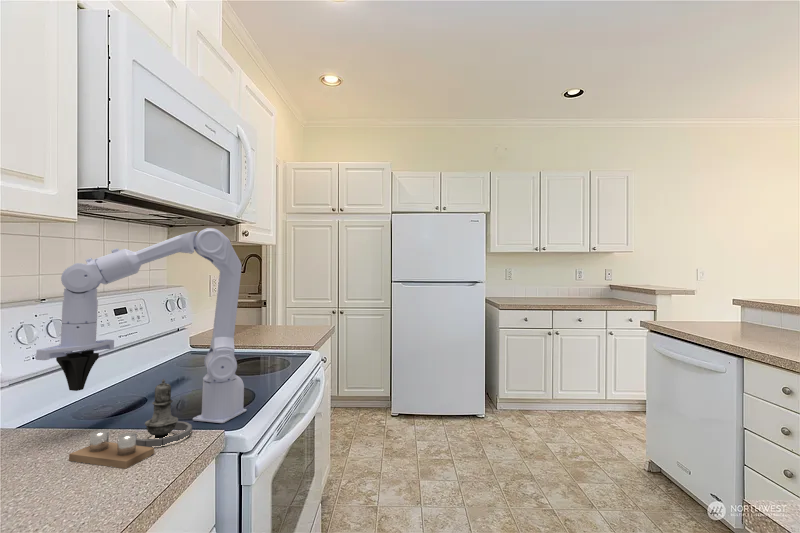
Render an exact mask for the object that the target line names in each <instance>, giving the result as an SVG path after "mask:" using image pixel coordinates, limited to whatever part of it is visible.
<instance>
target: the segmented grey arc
mask: <svg viewBox="0 0 800 533" xmlns="http://www.w3.org/2000/svg"><path fill="white" fill-rule="evenodd" d="M174 430H179V431H181V432H179V433H177V434H175V435H173V436H169V437H165V438H159V439H147V438H139V437H138V438H137V439H136V446H145V447H152V446H161V445H165V444H167V443H170V442H173V441H178V440H180V439H183V438H184V437H186V436H188V435H190V432H191V431H192V432H193V425H192V424H191V423H189V422H187V421H182V420H181V421H179V420H178V421H177V422H176V426H175V428H174ZM184 430H185V431H184ZM190 436H191V435H190Z"/></svg>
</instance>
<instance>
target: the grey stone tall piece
mask: <svg viewBox="0 0 800 533" xmlns="http://www.w3.org/2000/svg"><path fill="white" fill-rule="evenodd" d="M171 398H172V385H171V384H169V383H166V380H165V378H163V379H162V380H161V383H159V384H157V385H156V386H155V389H154V401H153V402H152V405H153V413H152V417H151V418H150V419H148V420H146V421H145V422H144V426H146V431H147V433H148V434H150V436H152V435H155V438H163V437H165V436H167V435H168V433H173V431H174V430H175V429H174V428H175V426H176V422H177V421H179V418H178V416H174V415H172V411H171V409H172V408H171V407H172V403H173V402H174V400H173V399H171Z"/></svg>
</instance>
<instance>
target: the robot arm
mask: <svg viewBox="0 0 800 533" xmlns="http://www.w3.org/2000/svg"><path fill="white" fill-rule="evenodd" d="M194 252H195V253H196V254H197V255H198V256H200V257H201V258H204V259H205V260H207V261H209V262H210V263H211V264H212V265H213V266H214V267H215V268H216V269H217V271H219V277H218V284H217V286H218V287H217V293H216V295H217V296H216V302H215V310H214V312H215V313H214V320H213V331H212V337H211V340H210V344H209V350H208V351H207V354H206V355H205V357H204V360H203V362H204V363H203V364H204V367H205V369H206V371H207V373H206V374H205V375H204V376H203V377H202V393H201V394H202V395H201V396H202V397H201V399H202V400H201V414H198V415H196V416H194V417H193V418H192V421H196V422H197V421H198V422H205V423H206V422H207V423H216V424H224V423H226V422H229V421H230V420H232V419H234V418H236V417H239V416H240V415H241V414H244V413H245V412H247V408H244V403H245V401H244V396H245V393H244V392H245V384H244V382H243V379H242V378H241V377H240V376H238V375H237V374H236V372H237V368H238V362H237V358H236V357H235V349H236V348H235V330H236V322H237V314H238V313H237V312H238V305H239V304H238V302H239V294H240V285H241V277H242V269H243V268H242V267H243V266H242V262H241V260H240V258H239V257H238V254H237V253H236V251H235V249H234V247H233V245H232V243H231V241H230V238H228V237H227V235H225V234H224V233H223V232H222V231H221V230H219V229H217V228H213V227H206V228H204V229H202V230H200V231H199V232H198V231H197V230H196V231H195V230H194V231H191V232H190V231H189V232H186V233H183V234H180V235H176V236H174V237H170V238H168V239H166V240H163V241H160V242H158V243H154V244H152V245H150V246H147V247H145V248H142V249H139V250H137V251H133V250H130V249H128V248H122V249H120V248H114V249H111V253H108V254H106V255H102V256H99V257H95V258H92V257H90V258H86V259H85V262H86V263H82V262H75V263H73V264H72V265H70V266H68V267H67V268H65V269H64V271H63V272H62V274H61V277H60V279H61V283H62V285H63V287H64V288H63V290H64V291H63V300H62V309H61V328H60V330H61V332H60V343H59V344H58V345H54V346H53V345H52V346H50V347H45V348H38V349H36V353H35V354H36V357H35V359H36V361H48V360H50V359H51V360H52V359H55V360H56V362H57V363H58V365H59V366H60V368H61V369H62V371H63V374H64V376H65V379H66V382H67V386H68V389H69V391H72V392H77V391H82V390H84V388H85V387H86V386H85V384H86V383H87V381H88V380H87V379H88V378H89V374H90V372H91V370H92V368H93V366H94V365H95V363H96V362H97V361H98V360H99V358H100V356H99V354H100V352H97V351H103V350H112V349H113V350H114V349H115V339H100V340H97V331H98V330H97V329H98V328H97V327H98V305H99V301H98V288H99V286H100V285H101V284H102V285H105V286H106V285H109V284H110V283H111V284H112V283H114V282H116V281H119V280H122V279H124V278H127V277H130V276H133V275H136V274H138V273H139V271H140V269H141V267H142V265H145V264H148V263H152V262H155V261H157V260H159V259H163V258H166V257H169V256H172V255H175V254H180V253H181V254H182V253H183V254H190V255H191V254H192V255H193V253H194Z"/></svg>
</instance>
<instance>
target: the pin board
mask: <svg viewBox="0 0 800 533" xmlns="http://www.w3.org/2000/svg"><path fill="white" fill-rule="evenodd" d="M89 434H90V435H89V445H88V446H86V447H84V448H81V449H78V450H76V451H73V452H70V453H69V454H68V457H69V458H68V461H69V462H73V461H76V462H75V463H81V462H83V464H88V463H90V464H89V465H95V464H96V466H102V465H103V466H104V467H110V466H112V467H111V468H118V469H128V468H130V467H133V466H134V465H135V464H138V463H140V462H142V461H143V459H144V460H146V459H147V457H148V458H150V457H151V455H152V454H154V455H155V448H153V447H145V446H136V439H137V437H138V436H137V435H138V434H137V433H136V432H126V433H125V432H124V433H122V434H119V435H117V442H111V441H110V429H106V428H105V429H98V430H94V431H92V432H90V433H89ZM149 456H150V457H149ZM152 456H153V455H152ZM145 458H146V459H145Z"/></svg>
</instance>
